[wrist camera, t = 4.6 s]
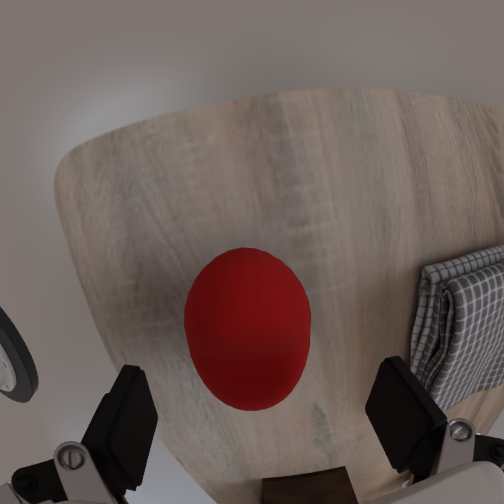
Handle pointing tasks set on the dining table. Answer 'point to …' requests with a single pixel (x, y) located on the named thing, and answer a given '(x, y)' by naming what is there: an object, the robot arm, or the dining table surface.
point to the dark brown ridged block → (309, 488)
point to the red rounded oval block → (248, 328)
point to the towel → (460, 326)
